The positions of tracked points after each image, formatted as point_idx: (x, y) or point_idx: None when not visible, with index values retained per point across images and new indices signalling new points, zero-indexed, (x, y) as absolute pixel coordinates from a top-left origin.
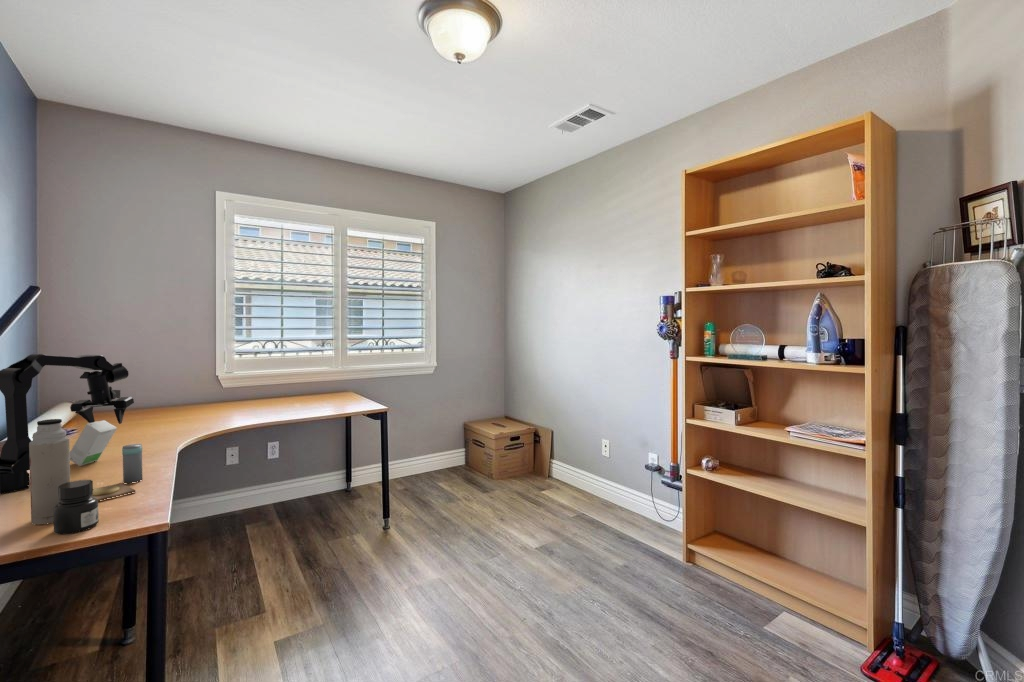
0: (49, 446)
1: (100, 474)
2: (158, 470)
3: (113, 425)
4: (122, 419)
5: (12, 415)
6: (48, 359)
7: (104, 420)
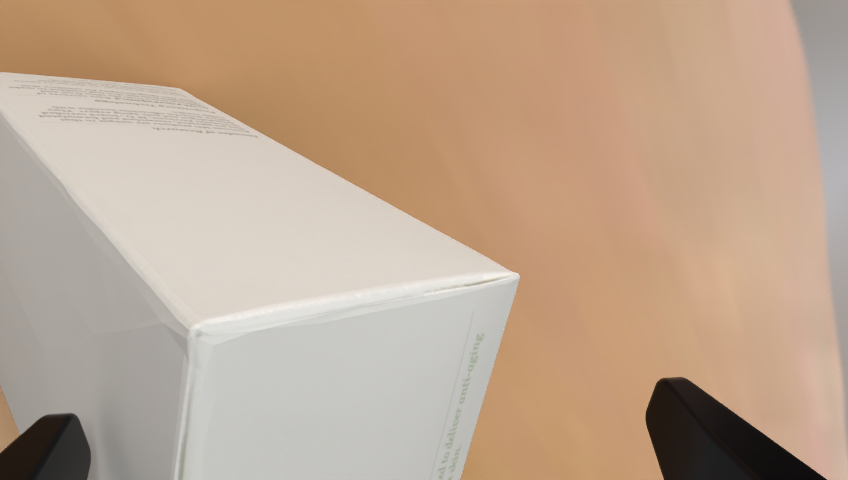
0: None
1: (480, 468)
2: (794, 401)
3: (452, 288)
4: (753, 430)
5: None
6: None
7: (221, 354)
